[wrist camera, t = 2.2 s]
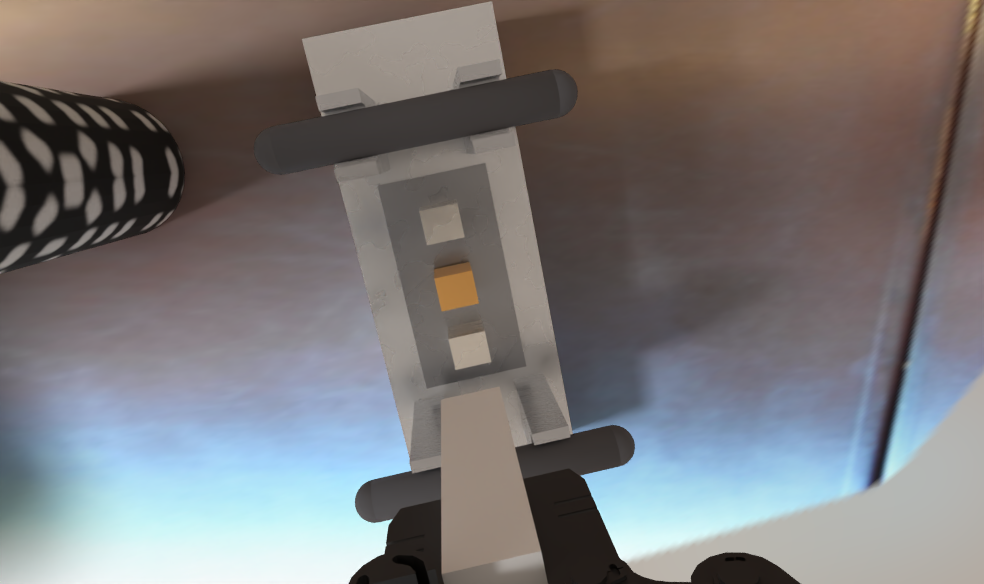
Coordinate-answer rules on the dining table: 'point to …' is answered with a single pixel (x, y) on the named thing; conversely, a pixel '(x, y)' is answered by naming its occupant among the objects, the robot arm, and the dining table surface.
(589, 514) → the robot arm
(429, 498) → the dark grey bar handle
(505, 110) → the dark grey rod
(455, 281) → the breaker paddle
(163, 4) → the dining table surface
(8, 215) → the spotted tube
